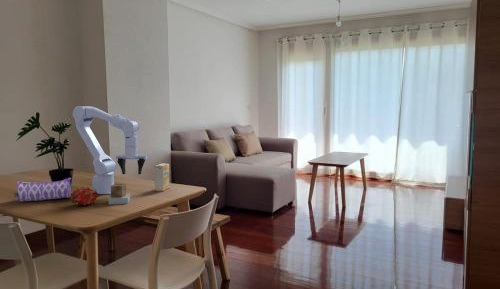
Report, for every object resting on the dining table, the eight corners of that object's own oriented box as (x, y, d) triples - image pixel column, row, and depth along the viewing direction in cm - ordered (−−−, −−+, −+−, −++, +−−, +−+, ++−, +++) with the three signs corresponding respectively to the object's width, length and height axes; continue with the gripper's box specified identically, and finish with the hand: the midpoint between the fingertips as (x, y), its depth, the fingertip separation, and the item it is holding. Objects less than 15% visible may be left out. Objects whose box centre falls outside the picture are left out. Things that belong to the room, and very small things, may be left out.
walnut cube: (111, 197, 163) (110, 186, 162) (115, 194, 168) (114, 183, 167) (122, 197, 163) (121, 186, 162) (126, 194, 168) (125, 183, 167)
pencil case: (14, 204, 160) (13, 182, 159) (18, 199, 168) (17, 178, 167) (71, 199, 168) (70, 179, 167) (72, 195, 177) (71, 175, 176)
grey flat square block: (108, 205, 161) (108, 198, 161) (111, 200, 169) (111, 194, 168) (127, 204, 162) (127, 197, 162) (130, 200, 170) (129, 193, 170)
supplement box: (163, 191, 185) (163, 165, 184) (154, 191, 186) (154, 165, 185) (170, 188, 193) (169, 163, 192) (161, 187, 194) (161, 162, 193)
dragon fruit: (67, 210, 157) (96, 209, 165) (74, 202, 151) (103, 201, 159) (66, 192, 160) (94, 192, 168) (72, 183, 155) (101, 183, 163)
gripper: (112, 146, 173) (113, 175, 174) (143, 147, 173) (144, 175, 174) (118, 145, 180) (119, 172, 181) (148, 145, 180) (148, 173, 181)
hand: (131, 174), depth 178 cm, fingers open, 7 cm apart
